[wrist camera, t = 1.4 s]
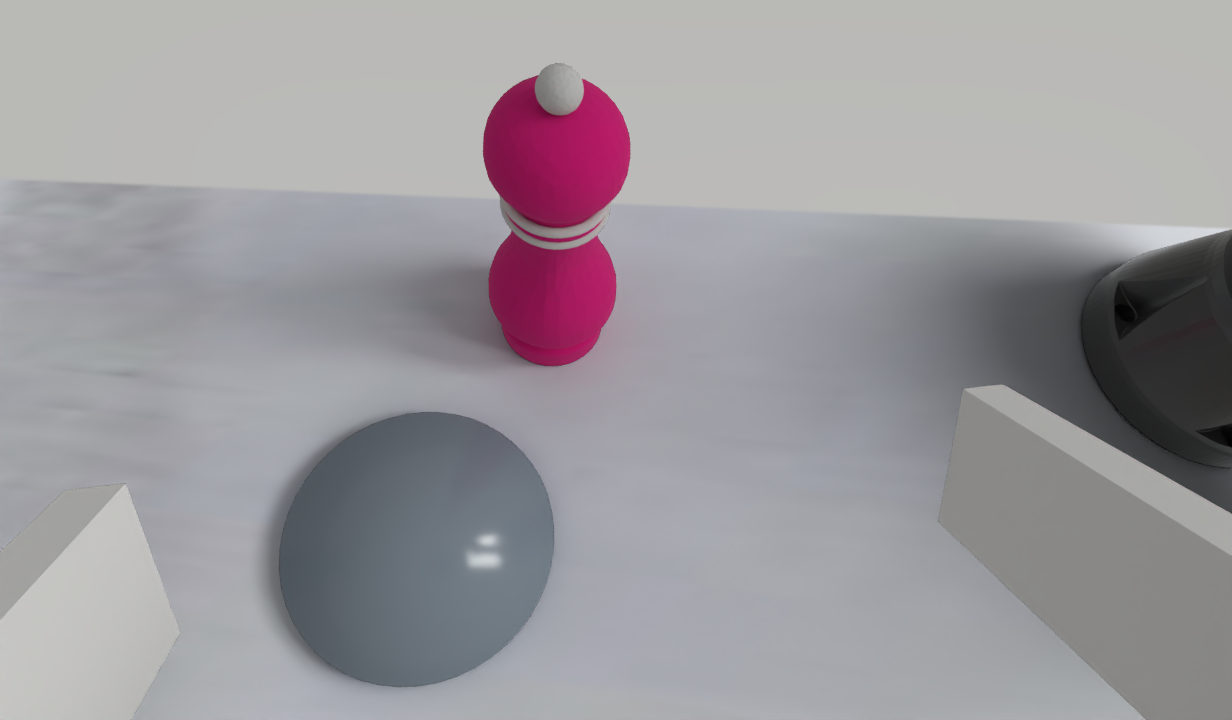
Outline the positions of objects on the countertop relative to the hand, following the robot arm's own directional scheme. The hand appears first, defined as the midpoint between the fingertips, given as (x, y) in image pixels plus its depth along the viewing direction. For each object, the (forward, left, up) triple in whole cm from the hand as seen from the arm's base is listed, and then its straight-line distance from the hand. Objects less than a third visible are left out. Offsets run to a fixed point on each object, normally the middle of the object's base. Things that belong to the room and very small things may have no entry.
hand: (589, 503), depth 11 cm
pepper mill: (-7, -15, -27) cm, 32 cm away
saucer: (+5, -6, -27) cm, 28 cm away
